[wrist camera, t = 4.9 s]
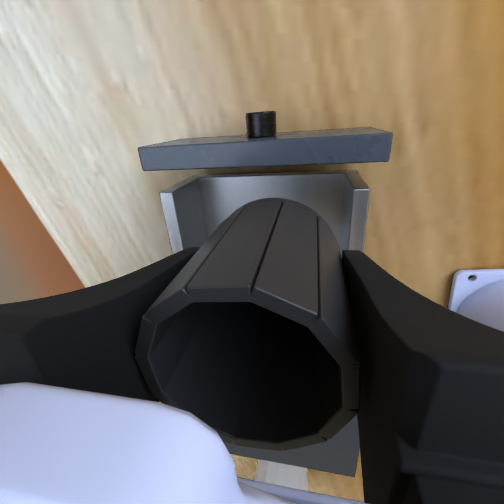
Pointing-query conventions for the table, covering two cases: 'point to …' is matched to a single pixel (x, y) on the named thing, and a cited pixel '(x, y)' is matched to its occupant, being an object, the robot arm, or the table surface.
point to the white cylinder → (282, 475)
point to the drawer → (267, 177)
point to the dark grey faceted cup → (258, 331)
